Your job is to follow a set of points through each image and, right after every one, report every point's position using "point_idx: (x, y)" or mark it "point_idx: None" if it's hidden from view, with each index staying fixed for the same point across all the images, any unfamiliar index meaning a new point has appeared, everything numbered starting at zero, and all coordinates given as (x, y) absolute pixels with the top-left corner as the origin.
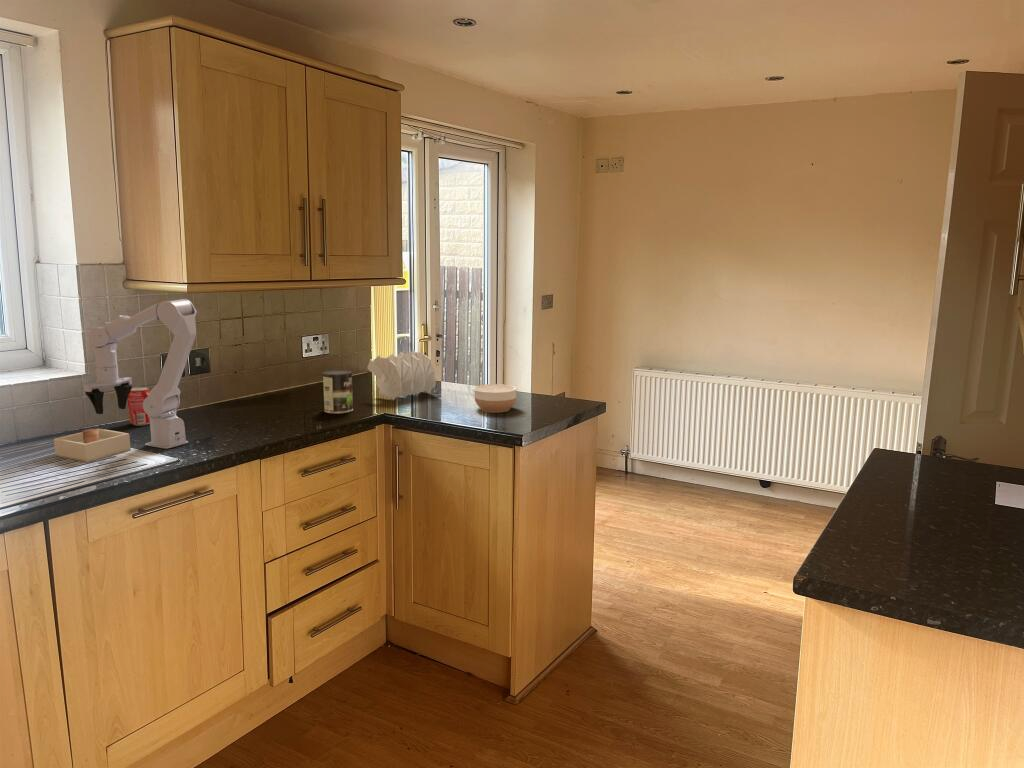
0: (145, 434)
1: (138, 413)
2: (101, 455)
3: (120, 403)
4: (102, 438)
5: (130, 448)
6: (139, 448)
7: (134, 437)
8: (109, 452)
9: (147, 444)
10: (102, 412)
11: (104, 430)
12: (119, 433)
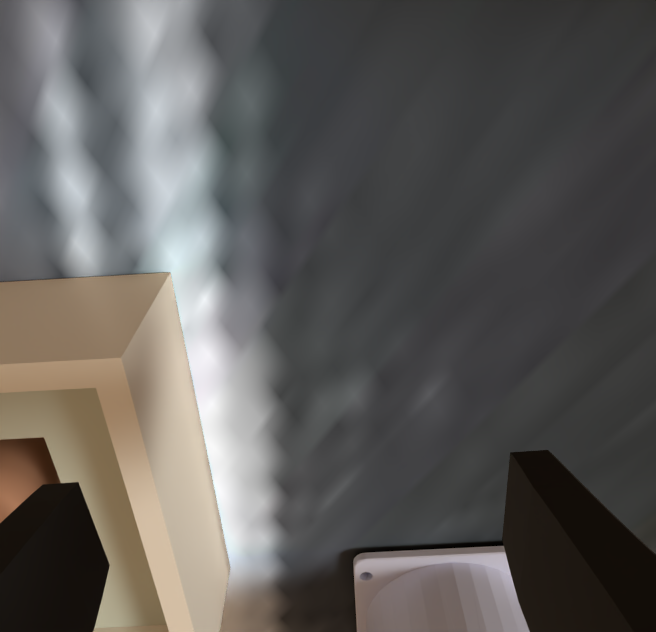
0: (625, 292)
1: None
2: None
3: (543, 573)
4: (103, 458)
5: (227, 578)
6: (291, 570)
7: (499, 304)
8: None
9: (355, 581)
10: (92, 594)
11: (125, 482)
12: (171, 630)
